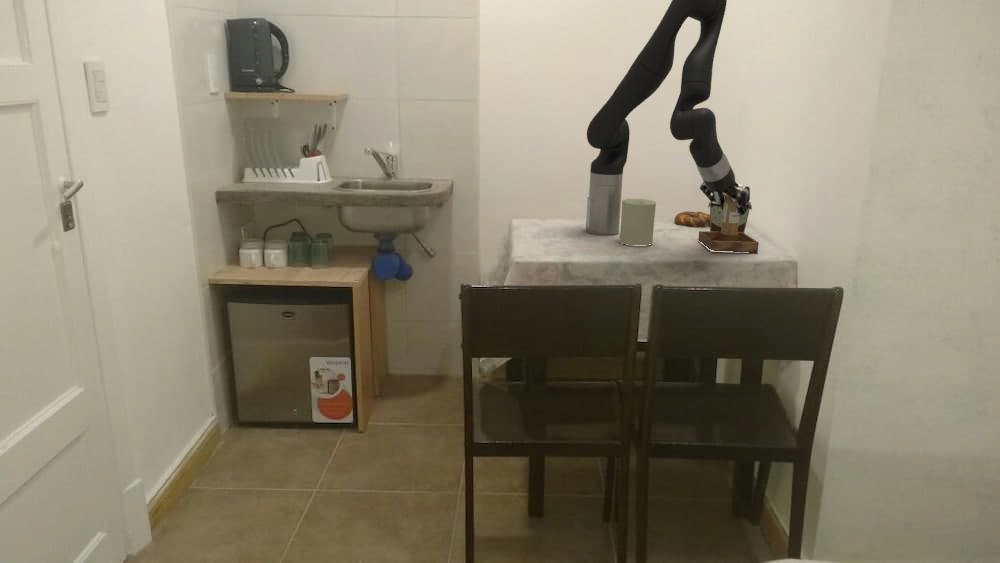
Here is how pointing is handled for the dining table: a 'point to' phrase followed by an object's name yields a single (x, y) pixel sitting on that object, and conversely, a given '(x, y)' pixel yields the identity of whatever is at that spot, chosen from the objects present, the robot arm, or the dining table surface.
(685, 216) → the pretzel
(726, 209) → the sprinkles bottle
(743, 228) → the food container
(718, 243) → the box
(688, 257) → the dining table surface
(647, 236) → the can
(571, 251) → the dining table surface
